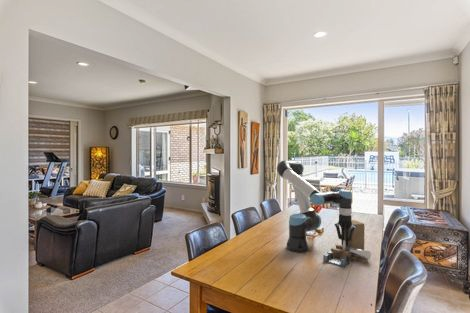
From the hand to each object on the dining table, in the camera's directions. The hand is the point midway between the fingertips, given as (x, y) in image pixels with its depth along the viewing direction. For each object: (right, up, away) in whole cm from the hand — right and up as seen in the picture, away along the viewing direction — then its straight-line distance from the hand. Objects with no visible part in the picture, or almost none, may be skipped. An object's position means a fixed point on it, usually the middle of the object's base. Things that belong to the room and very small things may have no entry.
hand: (344, 250), depth 170 cm
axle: (+6, -2, -5) cm, 8 cm away
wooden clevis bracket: (+3, -4, -2) cm, 5 cm away
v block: (-9, -4, -8) cm, 13 cm away
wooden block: (+9, -4, +9) cm, 14 cm away
